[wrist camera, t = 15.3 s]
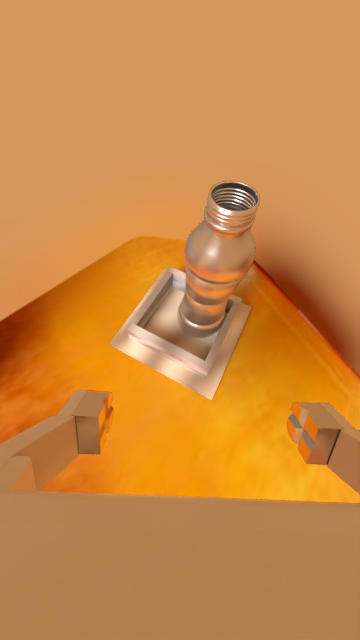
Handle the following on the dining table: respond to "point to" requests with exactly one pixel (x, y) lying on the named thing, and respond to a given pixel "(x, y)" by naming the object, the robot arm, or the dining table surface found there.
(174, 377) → the bottle holder
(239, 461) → the dining table surface
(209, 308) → the plastic bottle
